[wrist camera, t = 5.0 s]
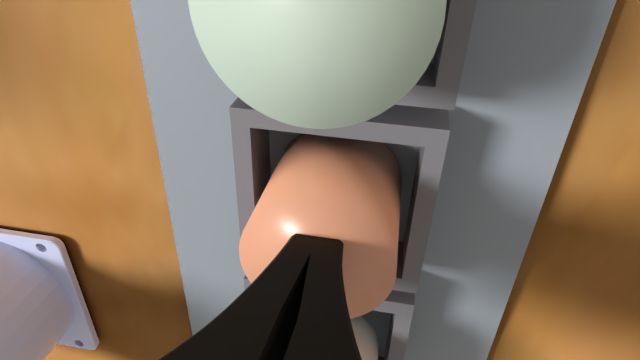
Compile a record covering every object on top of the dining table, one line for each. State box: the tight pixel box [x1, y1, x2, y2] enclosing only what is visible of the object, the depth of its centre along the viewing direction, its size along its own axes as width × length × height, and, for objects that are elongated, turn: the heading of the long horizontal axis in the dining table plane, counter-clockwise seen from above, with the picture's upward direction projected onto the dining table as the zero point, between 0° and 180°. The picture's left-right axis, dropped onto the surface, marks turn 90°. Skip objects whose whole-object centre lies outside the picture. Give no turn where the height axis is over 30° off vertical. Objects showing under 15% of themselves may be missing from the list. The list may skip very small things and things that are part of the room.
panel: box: [130, 0, 617, 360], centre depth 16 cm, size 14×24×3 cm, turn 178°
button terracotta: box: [239, 133, 402, 319], centre depth 14 cm, size 4×4×4 cm
